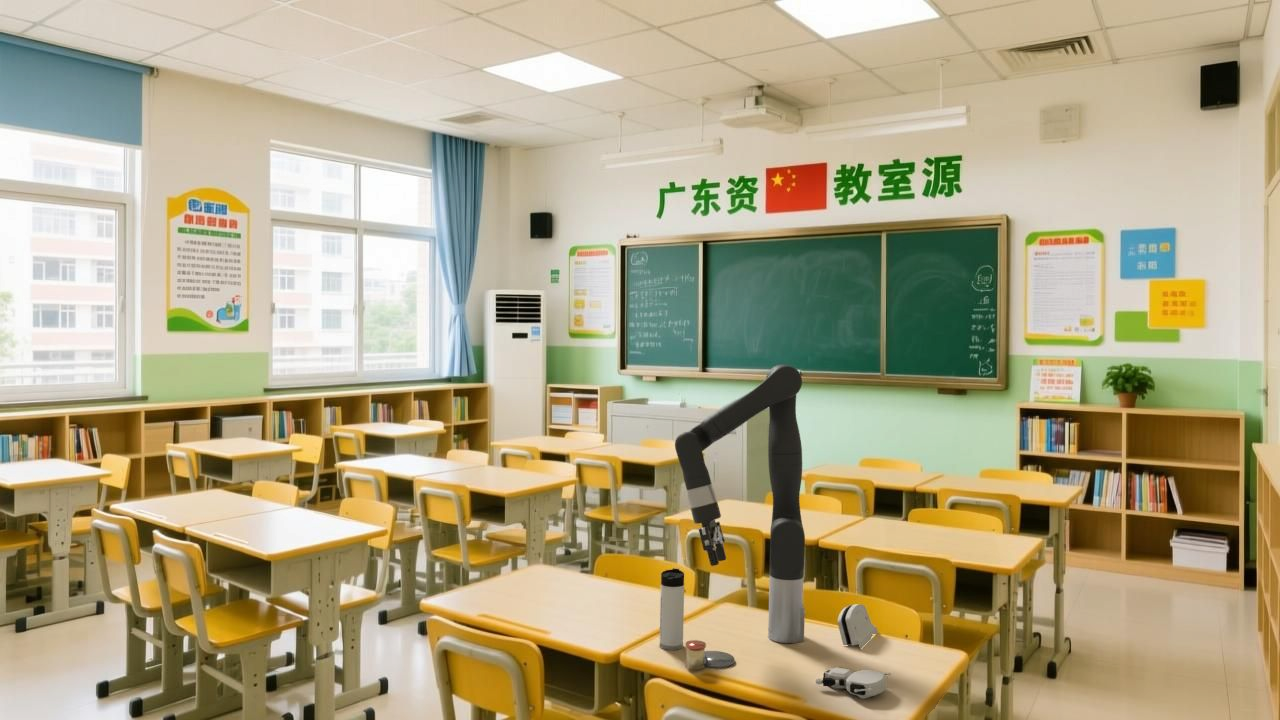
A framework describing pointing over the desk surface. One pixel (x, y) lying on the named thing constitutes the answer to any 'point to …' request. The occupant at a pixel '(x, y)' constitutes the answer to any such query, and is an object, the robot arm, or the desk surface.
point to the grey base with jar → (706, 656)
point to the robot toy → (855, 681)
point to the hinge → (855, 625)
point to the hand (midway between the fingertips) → (718, 562)
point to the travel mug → (672, 609)
